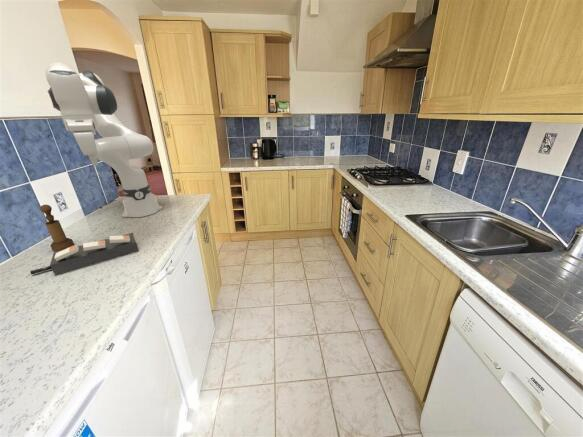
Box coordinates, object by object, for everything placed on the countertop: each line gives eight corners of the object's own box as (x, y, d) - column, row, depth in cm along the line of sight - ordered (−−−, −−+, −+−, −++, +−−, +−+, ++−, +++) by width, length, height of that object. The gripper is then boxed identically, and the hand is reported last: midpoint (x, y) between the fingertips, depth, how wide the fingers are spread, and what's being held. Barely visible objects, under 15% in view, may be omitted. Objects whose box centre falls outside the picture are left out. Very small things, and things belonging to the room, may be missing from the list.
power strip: (35, 268, 83) (29, 256, 81) (135, 241, 100) (132, 230, 98) (29, 282, 76) (22, 270, 74) (138, 251, 92) (135, 240, 90)
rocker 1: (58, 255, 82) (55, 252, 81) (78, 246, 85) (76, 243, 84) (56, 261, 79) (53, 258, 78) (78, 251, 82) (75, 248, 81)
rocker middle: (84, 246, 85) (83, 242, 85) (105, 243, 89) (104, 239, 89) (83, 250, 82) (82, 247, 82) (105, 247, 86) (105, 244, 86)
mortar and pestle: (54, 253, 92) (33, 209, 85) (50, 248, 96) (30, 206, 89) (76, 246, 97) (58, 204, 90) (71, 241, 101) (53, 200, 93)
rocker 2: (109, 238, 89) (109, 235, 89) (128, 238, 93) (128, 234, 93) (109, 242, 86) (109, 239, 86) (129, 242, 90) (130, 238, 90)
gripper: (71, 124, 89) (85, 162, 94) (67, 125, 74) (83, 170, 79) (93, 123, 92) (105, 160, 98) (92, 124, 77) (107, 168, 83)
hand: (95, 165), depth 88 cm, fingers closed
